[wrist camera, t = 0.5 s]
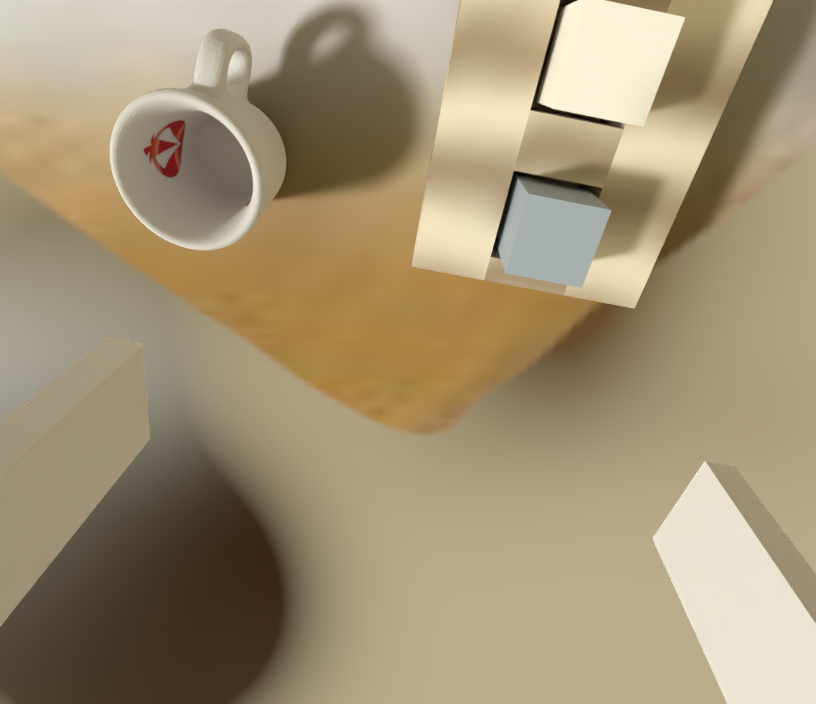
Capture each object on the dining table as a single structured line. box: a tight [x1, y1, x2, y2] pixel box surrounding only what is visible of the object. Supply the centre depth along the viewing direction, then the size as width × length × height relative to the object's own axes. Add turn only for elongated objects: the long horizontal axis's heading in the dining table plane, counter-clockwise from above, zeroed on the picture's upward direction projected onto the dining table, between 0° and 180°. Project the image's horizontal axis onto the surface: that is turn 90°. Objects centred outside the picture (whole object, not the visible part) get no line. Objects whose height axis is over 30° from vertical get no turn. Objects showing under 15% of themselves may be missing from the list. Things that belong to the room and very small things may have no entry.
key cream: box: [536, 0, 685, 127], centre depth 23 cm, size 4×4×5 cm
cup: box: [110, 29, 286, 250], centre depth 28 cm, size 11×8×8 cm
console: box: [412, 0, 773, 308], centre depth 27 cm, size 24×14×5 cm, turn 170°
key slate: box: [497, 175, 612, 288], centre depth 28 cm, size 4×4×5 cm
